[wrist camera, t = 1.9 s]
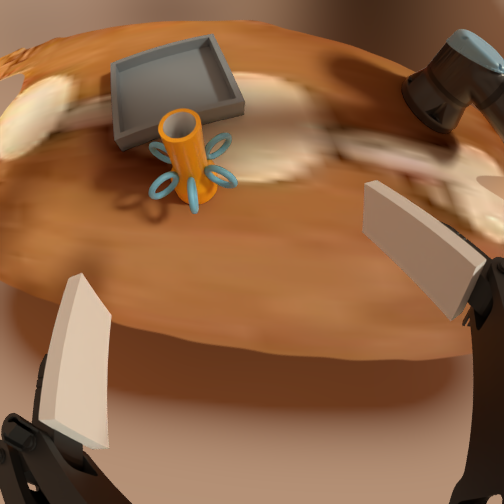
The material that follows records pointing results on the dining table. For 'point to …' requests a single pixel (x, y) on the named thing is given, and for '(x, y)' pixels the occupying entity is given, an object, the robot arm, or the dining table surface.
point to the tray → (171, 88)
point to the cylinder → (189, 159)
